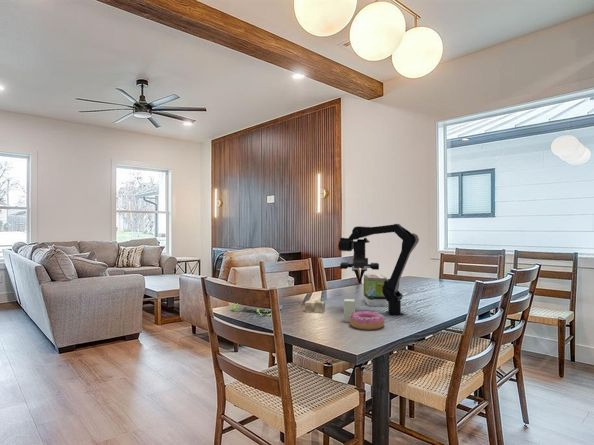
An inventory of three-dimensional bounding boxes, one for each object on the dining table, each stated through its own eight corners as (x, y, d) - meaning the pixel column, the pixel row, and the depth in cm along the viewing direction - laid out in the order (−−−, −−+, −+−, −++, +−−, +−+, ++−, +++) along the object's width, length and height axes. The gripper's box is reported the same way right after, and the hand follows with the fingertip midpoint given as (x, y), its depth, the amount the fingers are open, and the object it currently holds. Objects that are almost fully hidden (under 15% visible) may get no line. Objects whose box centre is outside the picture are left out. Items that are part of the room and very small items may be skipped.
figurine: (251, 304, 201) (251, 294, 201) (291, 311, 185) (291, 299, 185) (226, 310, 186) (225, 299, 186) (266, 318, 170) (266, 306, 170)
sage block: (354, 319, 167) (354, 299, 167) (354, 322, 162) (354, 301, 162) (344, 319, 168) (344, 298, 168) (343, 321, 163) (343, 300, 163)
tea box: (387, 306, 193) (387, 277, 194) (367, 306, 194) (367, 277, 194) (381, 300, 209) (381, 273, 209) (363, 300, 209) (363, 273, 209)
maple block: (324, 301, 184) (306, 300, 186) (323, 303, 180) (305, 302, 182) (324, 310, 184) (306, 309, 186) (323, 312, 180) (305, 311, 182)
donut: (391, 326, 157) (390, 314, 157) (371, 333, 147) (371, 320, 147) (362, 320, 167) (362, 308, 167) (342, 326, 157) (342, 314, 157)
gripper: (338, 252, 180) (339, 285, 180) (378, 253, 176) (378, 286, 176) (341, 251, 191) (341, 281, 191) (378, 251, 187) (379, 282, 187)
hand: (359, 283), depth 186 cm, fingers closed
